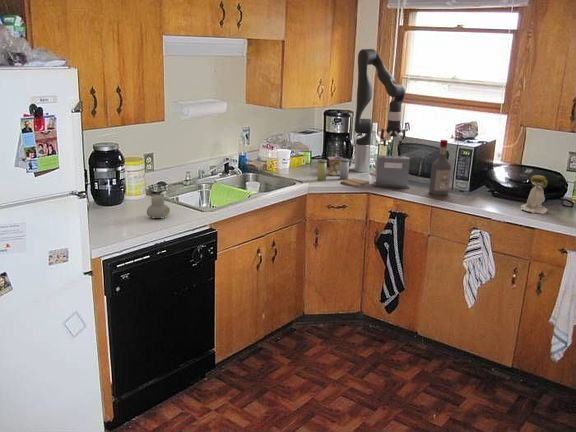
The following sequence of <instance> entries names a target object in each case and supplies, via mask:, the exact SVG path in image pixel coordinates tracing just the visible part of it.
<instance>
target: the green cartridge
mask: <svg viewBox="0 0 576 432" xmlns="http://www.w3.org/2000/svg"><path fill="white" fill-rule="evenodd" d="M327 160H328V159H318V161H317V181H318V182H326V180H327V167H328V166H327V162H328V161H327ZM326 166H327V167H326Z"/></svg>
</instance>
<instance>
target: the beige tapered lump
mask: <svg viewBox="0 0 576 432" xmlns="http://www.w3.org/2000/svg"><path fill="white" fill-rule="evenodd" d="M530 182H531V187H532V188H531V189H530V192H529V193H528V194H529V195H528V198H527V200H526V203H525V204H522V205H520V211H522V210H523V211H526V212H530V213H531V214H537V213H538V214H542V215H543V214H547V213H548V208H546V207H545V206H543V203H544V202H545V200H546V198H545V194H544V193H545V192H544V189H545V188H546V187H548V180H547V177H545V176H544V175H540V174H538V175H537V174H536V175H535V174H534V175H532V176H531V178H530Z"/></svg>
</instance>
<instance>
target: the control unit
mask: <svg viewBox="0 0 576 432" xmlns="http://www.w3.org/2000/svg"><path fill="white" fill-rule="evenodd" d="M376 156H377V157H376V169H375V180H374V181H373V187H374V188H387V189H388V188H390V189H392V188H393V189H410V184H409V173H410V172H409V170H410V159H411V158H410V157H409V156H404V155H402V156H400V155H382V154H381V155H380V154H377V155H376Z"/></svg>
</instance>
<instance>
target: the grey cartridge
mask: <svg viewBox="0 0 576 432" xmlns="http://www.w3.org/2000/svg"><path fill="white" fill-rule="evenodd" d="M349 169H350V159H349V158H343V159H341V167H340V175H339V180H342V181H345V180H348V179H349V171H350V170H349Z"/></svg>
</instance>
